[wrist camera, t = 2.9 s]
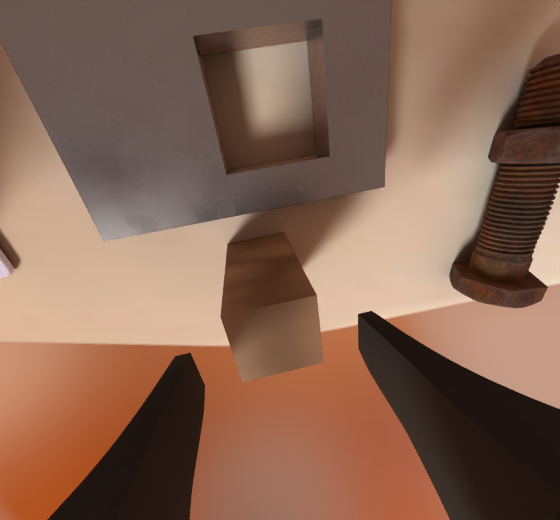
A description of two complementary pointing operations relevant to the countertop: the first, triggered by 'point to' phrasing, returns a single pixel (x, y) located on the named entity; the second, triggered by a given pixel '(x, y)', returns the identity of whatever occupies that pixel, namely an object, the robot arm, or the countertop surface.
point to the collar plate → (195, 102)
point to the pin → (269, 309)
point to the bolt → (518, 198)
